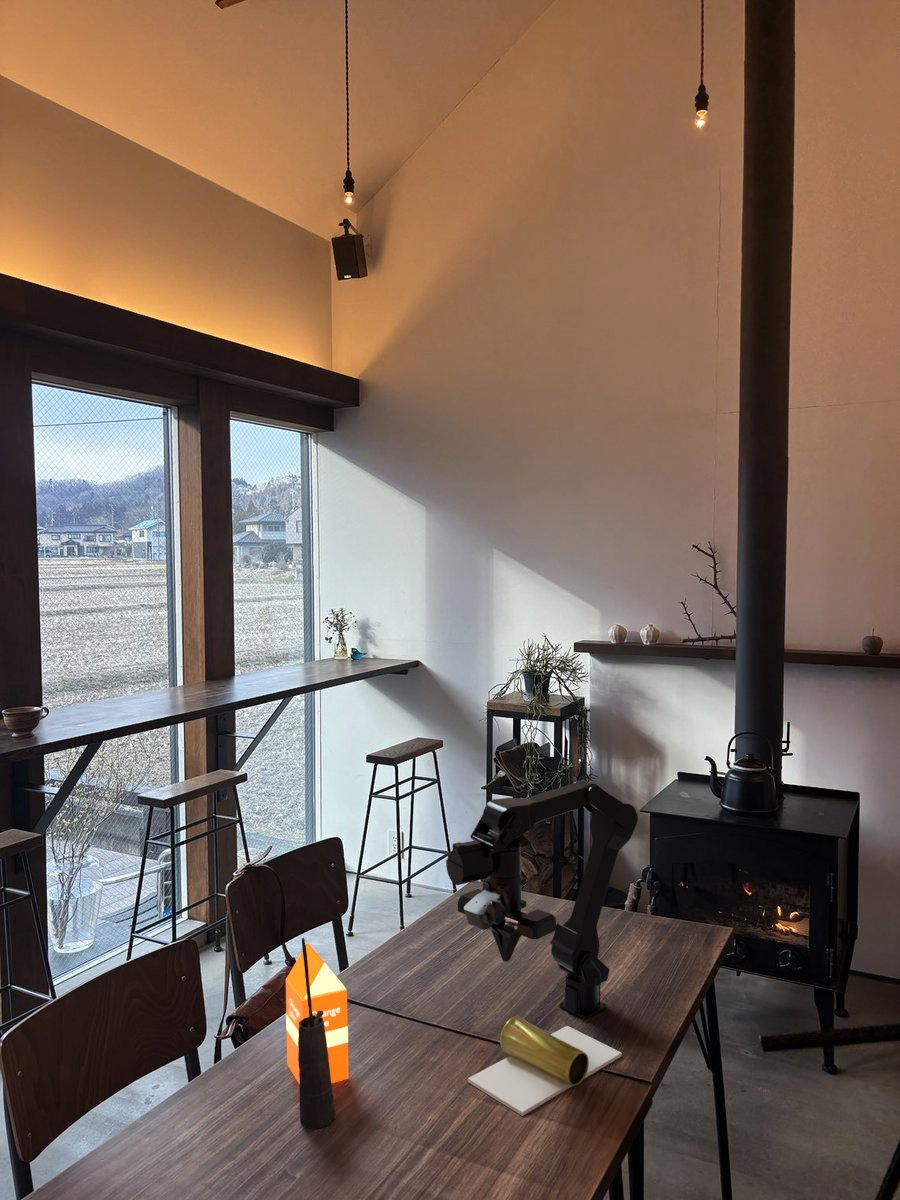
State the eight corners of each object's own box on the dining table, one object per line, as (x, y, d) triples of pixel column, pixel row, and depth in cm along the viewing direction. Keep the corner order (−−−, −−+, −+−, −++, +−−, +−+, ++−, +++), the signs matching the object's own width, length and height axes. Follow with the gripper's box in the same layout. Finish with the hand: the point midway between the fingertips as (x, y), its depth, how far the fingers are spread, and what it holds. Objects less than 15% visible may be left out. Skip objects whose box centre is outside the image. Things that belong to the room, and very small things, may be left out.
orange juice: (303, 1091, 140) (300, 967, 139) (286, 1064, 148) (284, 946, 147) (349, 1078, 143) (347, 956, 143) (331, 1052, 151) (329, 936, 151)
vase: (528, 1024, 153) (595, 1057, 143) (512, 1058, 150) (579, 1095, 140) (511, 1009, 150) (578, 1042, 139) (494, 1044, 147) (561, 1081, 137)
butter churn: (321, 1088, 141) (318, 914, 140) (364, 1111, 135) (361, 929, 134) (276, 1116, 134) (272, 933, 133) (319, 1142, 128) (315, 950, 127)
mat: (567, 1029, 158) (567, 1025, 158) (621, 1056, 149) (621, 1052, 149) (467, 1082, 142) (467, 1078, 142) (522, 1116, 133) (522, 1112, 133)
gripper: (434, 872, 157) (436, 959, 158) (514, 899, 144) (516, 994, 144) (478, 857, 165) (479, 940, 165) (557, 881, 151) (558, 971, 152)
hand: (506, 960), depth 157 cm, fingers closed
